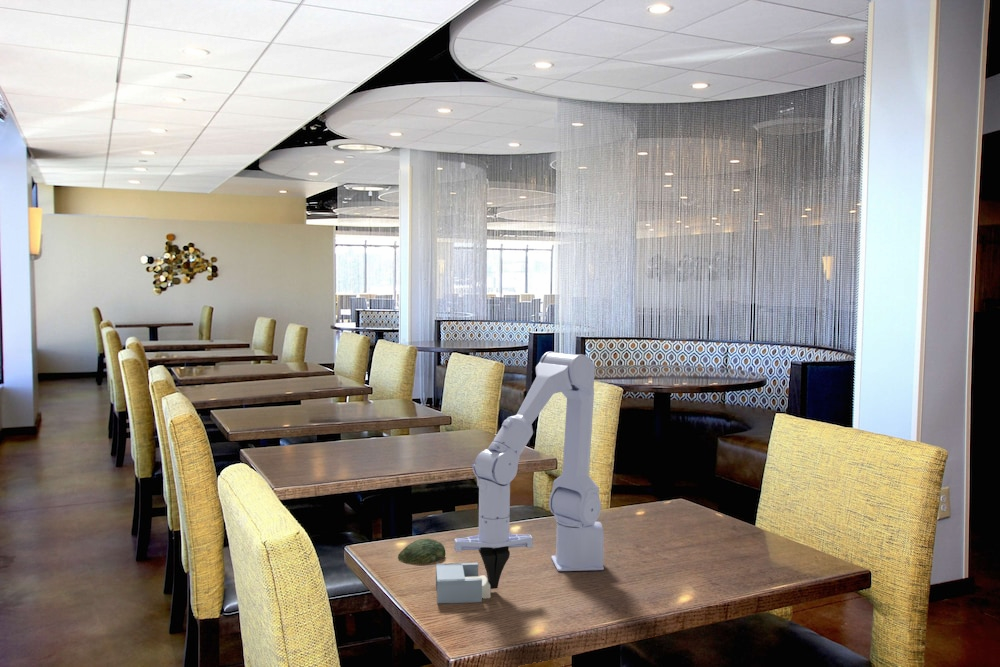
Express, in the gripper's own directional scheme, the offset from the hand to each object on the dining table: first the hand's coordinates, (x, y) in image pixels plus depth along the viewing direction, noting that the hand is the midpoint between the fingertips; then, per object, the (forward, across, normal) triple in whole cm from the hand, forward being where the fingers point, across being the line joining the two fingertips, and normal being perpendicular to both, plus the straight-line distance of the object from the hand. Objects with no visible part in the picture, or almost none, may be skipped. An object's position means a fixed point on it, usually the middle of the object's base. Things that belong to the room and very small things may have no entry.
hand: (493, 586), depth 144 cm
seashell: (+2, +11, -22) cm, 24 cm away
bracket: (+1, +6, -1) cm, 7 cm away
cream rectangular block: (+1, +5, 0) cm, 5 cm away
